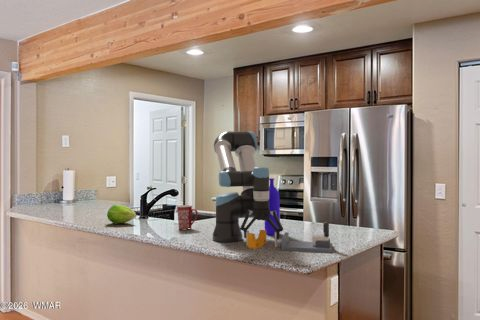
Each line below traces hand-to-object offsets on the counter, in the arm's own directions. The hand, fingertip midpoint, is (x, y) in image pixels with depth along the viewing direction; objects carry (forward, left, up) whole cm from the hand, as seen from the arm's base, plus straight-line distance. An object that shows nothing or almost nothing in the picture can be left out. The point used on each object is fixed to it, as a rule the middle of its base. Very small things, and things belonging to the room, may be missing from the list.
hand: (261, 245), depth 182 cm
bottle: (0, +30, 0) cm, 30 cm away
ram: (+27, 0, +2) cm, 27 cm away
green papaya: (-99, +44, 0) cm, 108 cm away
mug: (-51, +35, 0) cm, 62 cm away
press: (+21, 0, 0) cm, 21 cm away
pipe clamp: (-2, +1, -1) cm, 2 cm away
